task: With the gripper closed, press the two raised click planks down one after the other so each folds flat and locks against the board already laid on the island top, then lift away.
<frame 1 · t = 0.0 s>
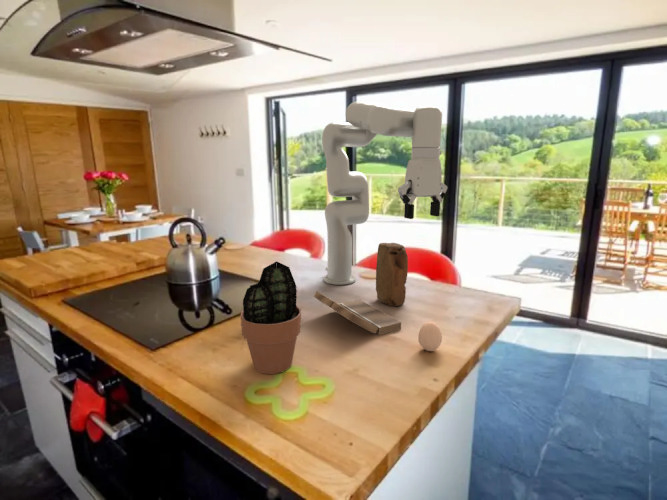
hand: (421, 217, 110), 31 cm above the kitchen island, fingers open, 9 cm apart
laid board: (368, 318, 118), on the kitchen island
plank b: (354, 317, 108), point 4 cm above the kitchen island, hinge at 35.0°
plank a: (334, 305, 117), point 4 cm above the kitchen island, hinge at 35.0°
potted plant: (273, 365, 91), on the kitchen island
egg: (429, 350, 98), on the kitchen island
block: (390, 302, 132), on the kitchen island
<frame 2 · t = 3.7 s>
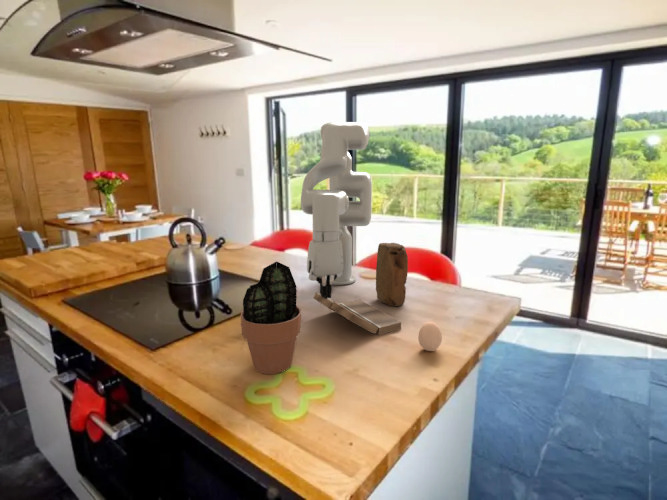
hand: (325, 296, 115), 7 cm above the kitchen island, fingers closed
plank a: (334, 306, 117), point 4 cm above the kitchen island, hinge at 32.3°, touching gripper
everything else where it was.
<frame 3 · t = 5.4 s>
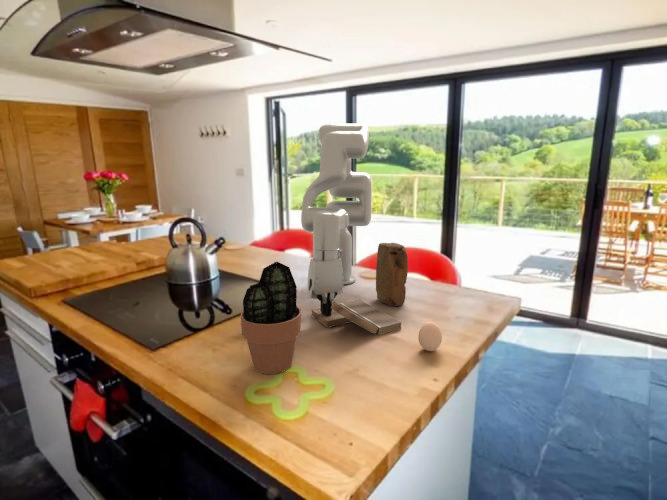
hand: (326, 314, 115), 2 cm above the kitchen island, fingers closed
plank a: (333, 314, 117), point 1 cm above the kitchen island, hinge at 0.5°, touching gripper
everything else where it was.
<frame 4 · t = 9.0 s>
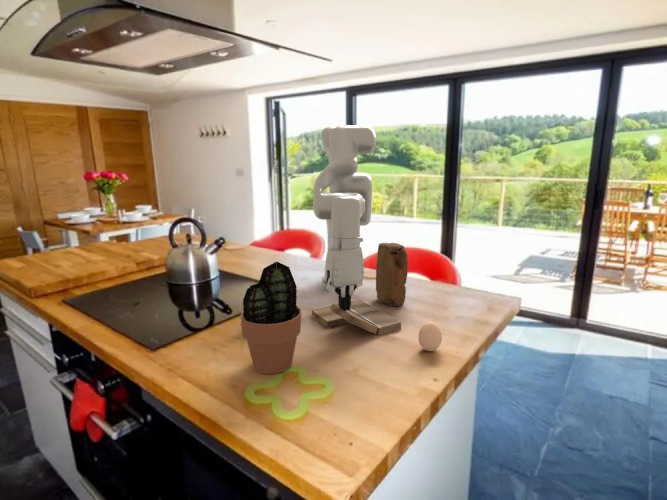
hand: (344, 308, 106), 7 cm above the kitchen island, fingers closed
plank b: (353, 318, 108), point 4 cm above the kitchen island, hinge at 32.0°, touching gripper
plank a: (333, 315, 117), point 1 cm above the kitchen island, hinge at 0.0°
everything else where it was.
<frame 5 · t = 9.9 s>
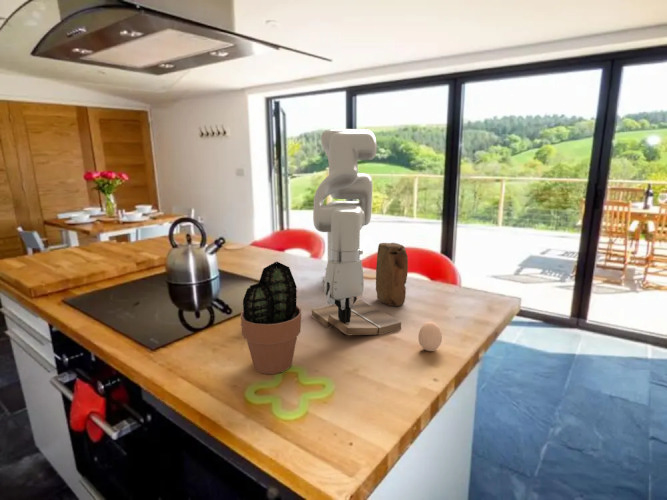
hand: (344, 321, 106), 4 cm above the kitchen island, fingers closed
plank b: (352, 324, 108), point 2 cm above the kitchen island, hinge at 12.4°, touching gripper
everything else where it was.
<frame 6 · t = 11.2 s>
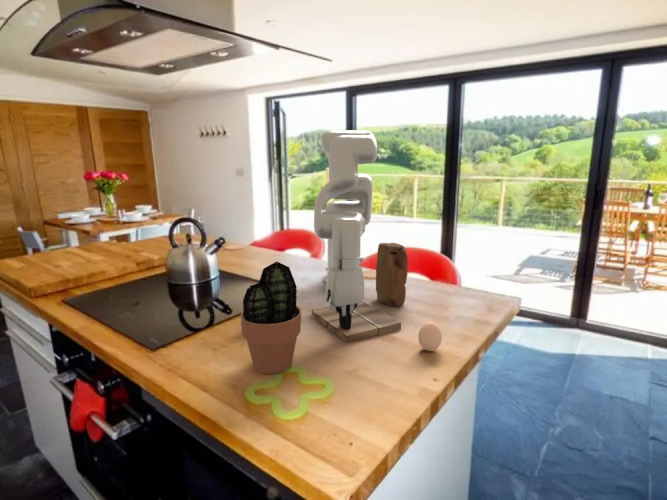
hand: (345, 327, 107), 2 cm above the kitchen island, fingers closed
plank b: (352, 328, 109), point 1 cm above the kitchen island, hinge at 0.0°, touching gripper
everything else where it was.
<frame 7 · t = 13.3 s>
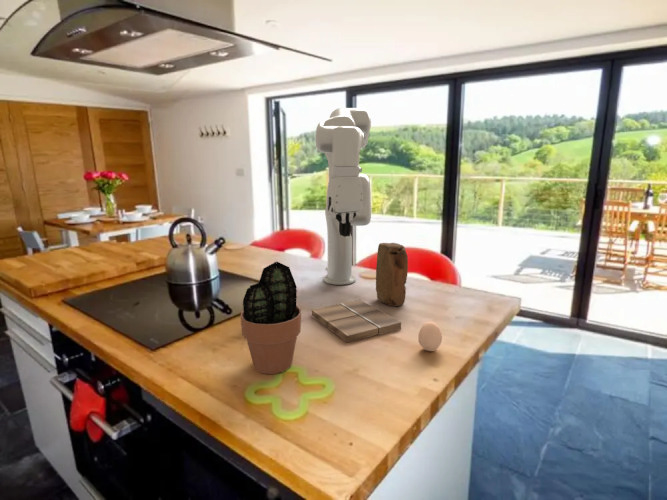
hand: (344, 235, 114), 25 cm above the kitchen island, fingers closed
plank b: (352, 328, 109), point 1 cm above the kitchen island, hinge at 0.0°
everything else where it was.
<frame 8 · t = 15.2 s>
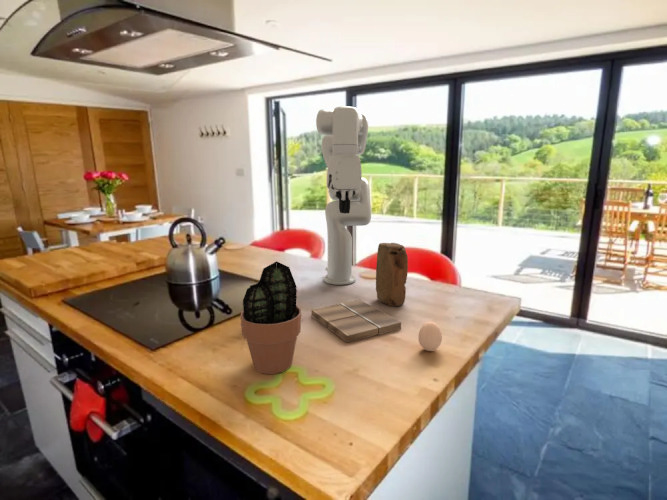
hand: (344, 212, 119), 31 cm above the kitchen island, fingers closed
nothing on the kitchen island moved.
at the end: plank a at +0° (first picture: +35°); plank b at +0° (first picture: +35°) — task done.
